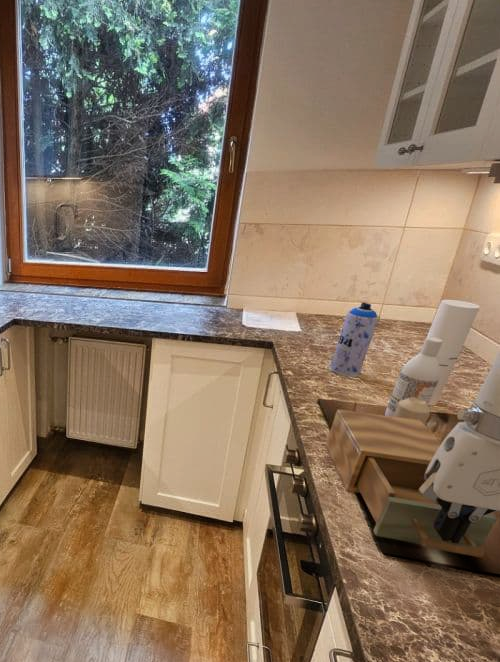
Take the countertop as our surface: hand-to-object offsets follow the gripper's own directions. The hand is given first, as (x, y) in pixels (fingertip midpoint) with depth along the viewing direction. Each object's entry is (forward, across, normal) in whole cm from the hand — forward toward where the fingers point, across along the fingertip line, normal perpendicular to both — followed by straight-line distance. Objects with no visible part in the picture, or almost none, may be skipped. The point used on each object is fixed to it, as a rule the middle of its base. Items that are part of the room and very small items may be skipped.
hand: (445, 535), depth 67 cm
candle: (+6, +10, +39) cm, 41 cm away
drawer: (+5, +1, +8) cm, 9 cm away
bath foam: (+5, +14, +50) cm, 52 cm away
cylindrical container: (+5, +24, +64) cm, 68 cm away
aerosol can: (+5, +10, +78) cm, 79 cm away
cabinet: (+6, +1, +24) cm, 25 cm away
